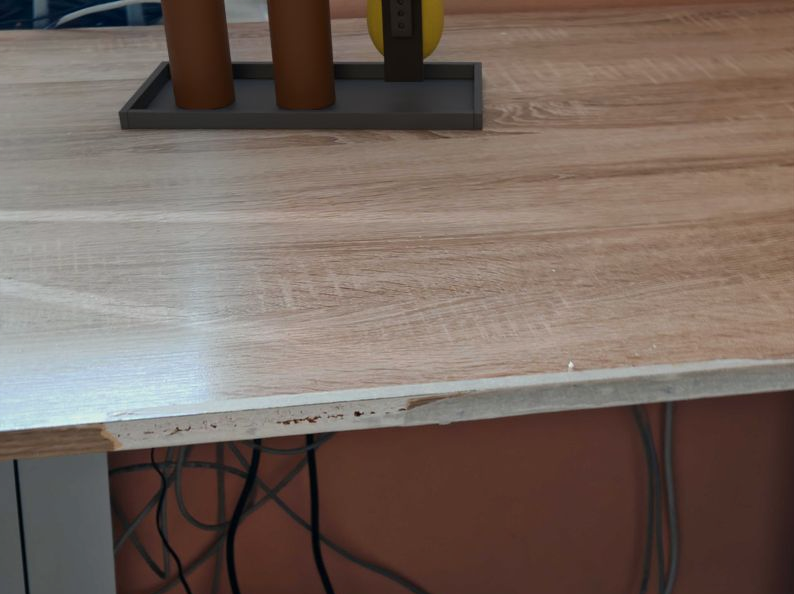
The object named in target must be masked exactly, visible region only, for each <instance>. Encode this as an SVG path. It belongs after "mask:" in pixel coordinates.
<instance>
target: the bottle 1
mask: <svg viewBox="0 0 794 594" xmlns="http://www.w3.org/2000/svg"><path fill="white" fill-rule="evenodd" d="M160 6H161V14H162V21H163V28H164V35H165V41H166V49H167V55H168V61H169V63H170V70H171V77H172V84H173V91H174V98H175V104H176V105H177V106H178V107H181V108H184V109H189V110H211V109H217V108H222V107H225V106H228V105H230V104H232V103H233V102H234V101H235V90H234V81H233V72H232V64H231V62H232V56H231V55H232V54H231V47H230V38H229V29H228V22H227V21H228V20H227V12H226V3H225V0H160Z"/></svg>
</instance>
